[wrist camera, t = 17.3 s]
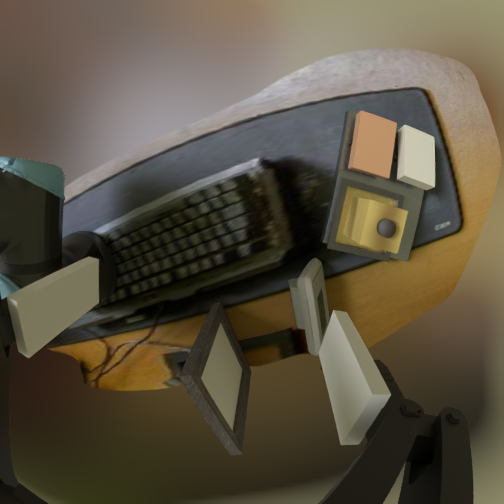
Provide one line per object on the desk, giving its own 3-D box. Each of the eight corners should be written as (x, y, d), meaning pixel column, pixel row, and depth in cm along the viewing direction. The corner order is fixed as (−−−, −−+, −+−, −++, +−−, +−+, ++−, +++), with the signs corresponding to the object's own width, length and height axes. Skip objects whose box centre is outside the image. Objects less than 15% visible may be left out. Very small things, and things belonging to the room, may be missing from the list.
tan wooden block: (343, 233, 42) (362, 246, 33) (352, 196, 40) (373, 200, 32) (376, 242, 42) (400, 255, 33) (385, 206, 40) (412, 212, 31)
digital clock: (328, 329, 48) (338, 356, 40) (286, 330, 49) (289, 359, 40) (334, 256, 45) (348, 272, 36) (288, 256, 46) (293, 273, 37)
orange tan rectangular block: (347, 168, 38) (352, 167, 36) (356, 114, 36) (361, 110, 34) (382, 179, 38) (389, 178, 36) (390, 126, 36) (396, 123, 34)
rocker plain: (396, 179, 37) (404, 175, 35) (398, 130, 37) (404, 124, 35) (426, 190, 37) (434, 187, 35) (426, 142, 37) (434, 137, 35)
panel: (320, 243, 45) (324, 247, 41) (345, 112, 39) (351, 106, 36) (401, 261, 44) (410, 266, 41) (425, 141, 39) (435, 139, 36)
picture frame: (251, 370, 51) (241, 454, 31) (241, 372, 52) (228, 455, 31) (221, 301, 48) (191, 375, 28) (210, 304, 48) (175, 377, 28)
